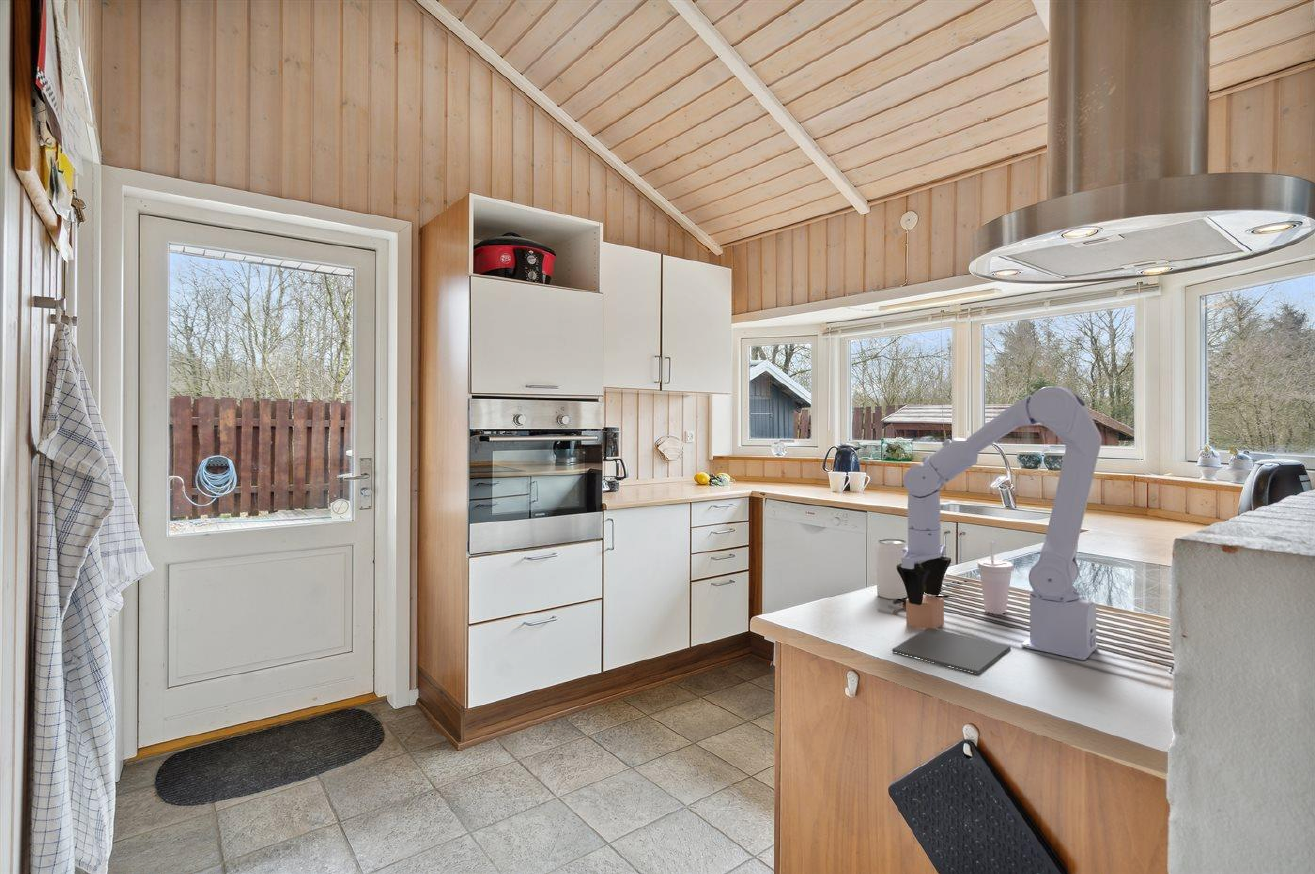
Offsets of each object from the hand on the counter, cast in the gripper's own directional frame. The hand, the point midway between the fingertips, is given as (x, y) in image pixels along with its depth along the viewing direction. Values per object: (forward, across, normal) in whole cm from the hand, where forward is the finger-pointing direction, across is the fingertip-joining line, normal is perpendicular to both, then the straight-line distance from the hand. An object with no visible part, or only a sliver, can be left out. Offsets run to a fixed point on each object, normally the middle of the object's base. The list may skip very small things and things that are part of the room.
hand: (924, 599), depth 127 cm
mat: (+5, +10, +9) cm, 14 cm away
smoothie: (+5, -16, +7) cm, 18 cm away
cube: (+5, 0, 0) cm, 5 cm away
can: (+5, -13, -13) cm, 19 cm away
